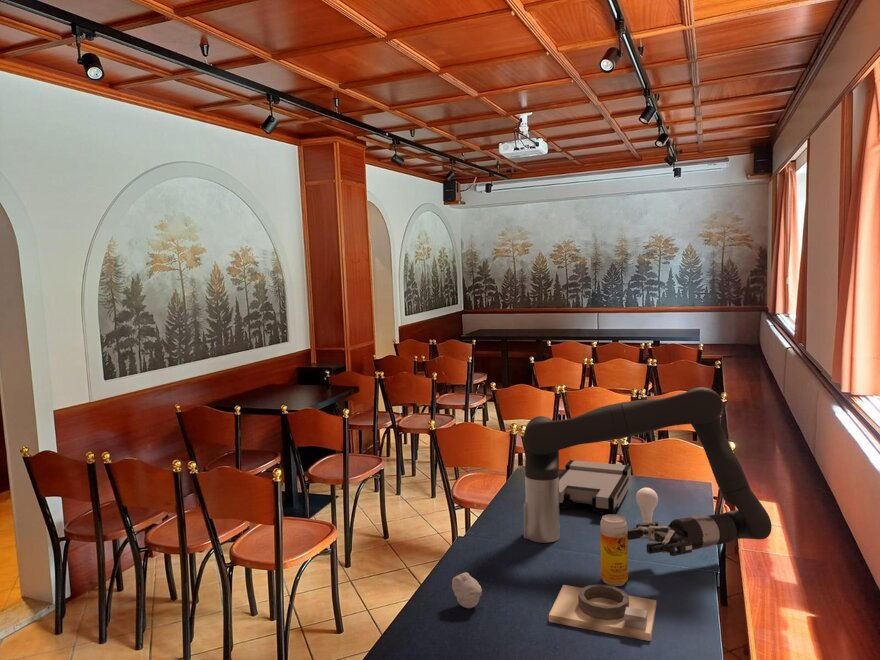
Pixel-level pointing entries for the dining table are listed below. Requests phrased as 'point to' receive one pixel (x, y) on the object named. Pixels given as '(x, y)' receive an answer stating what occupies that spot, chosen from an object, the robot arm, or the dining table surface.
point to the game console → (594, 485)
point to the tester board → (604, 611)
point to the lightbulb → (646, 503)
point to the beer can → (614, 550)
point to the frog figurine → (466, 590)
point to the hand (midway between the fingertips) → (636, 541)
